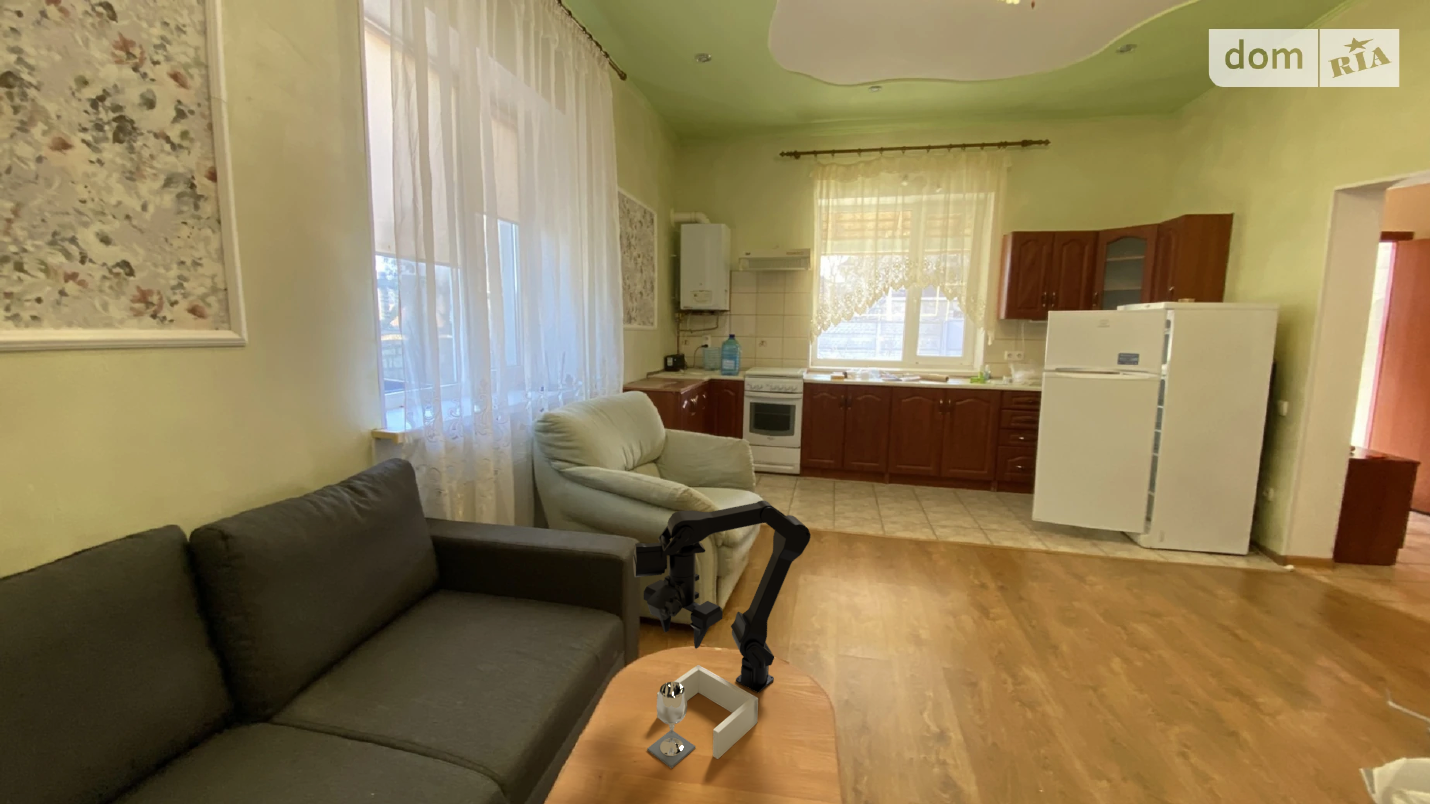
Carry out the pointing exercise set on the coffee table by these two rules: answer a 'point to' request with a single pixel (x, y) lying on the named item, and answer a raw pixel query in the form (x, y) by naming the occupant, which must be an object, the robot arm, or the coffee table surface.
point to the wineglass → (671, 714)
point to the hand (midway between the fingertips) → (681, 639)
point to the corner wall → (728, 698)
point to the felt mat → (671, 760)
